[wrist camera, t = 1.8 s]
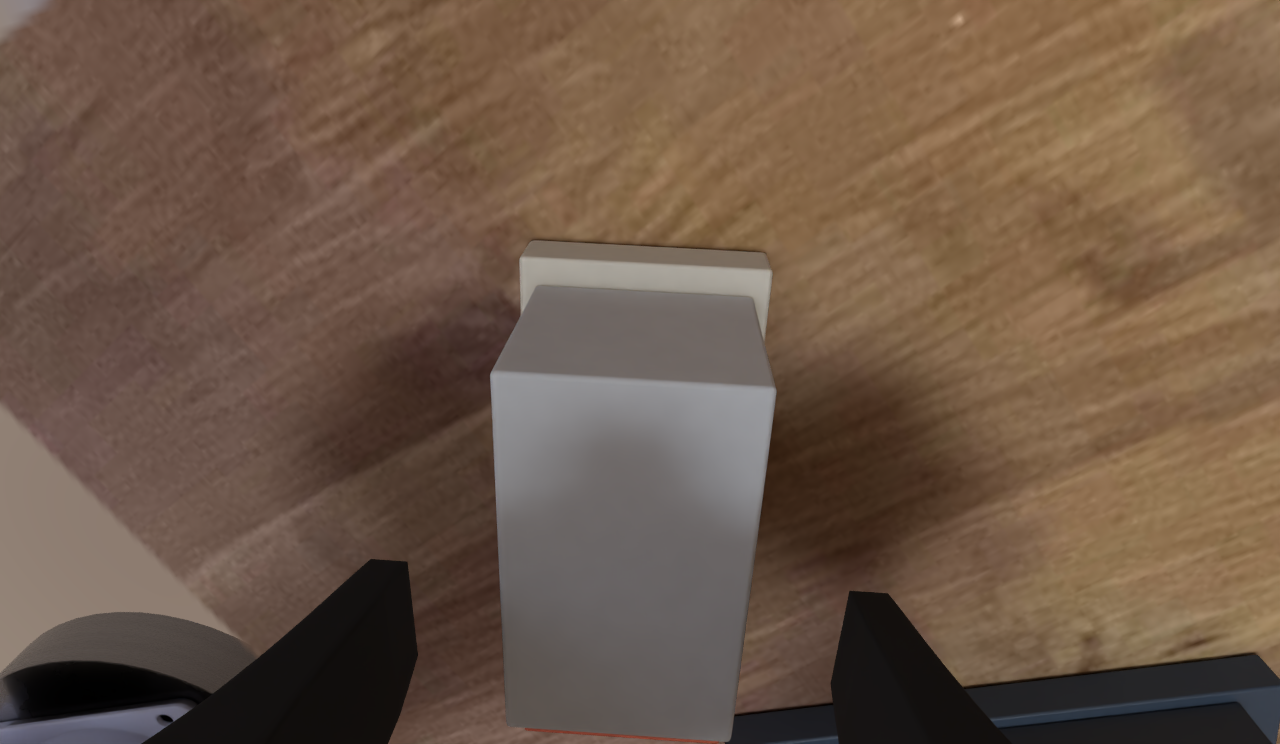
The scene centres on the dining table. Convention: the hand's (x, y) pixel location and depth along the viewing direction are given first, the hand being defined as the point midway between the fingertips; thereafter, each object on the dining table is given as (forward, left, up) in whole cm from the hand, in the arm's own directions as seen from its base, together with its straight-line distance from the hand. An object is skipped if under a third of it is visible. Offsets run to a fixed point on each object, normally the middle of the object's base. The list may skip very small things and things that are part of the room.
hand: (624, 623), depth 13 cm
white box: (0, 0, -5) cm, 5 cm away
